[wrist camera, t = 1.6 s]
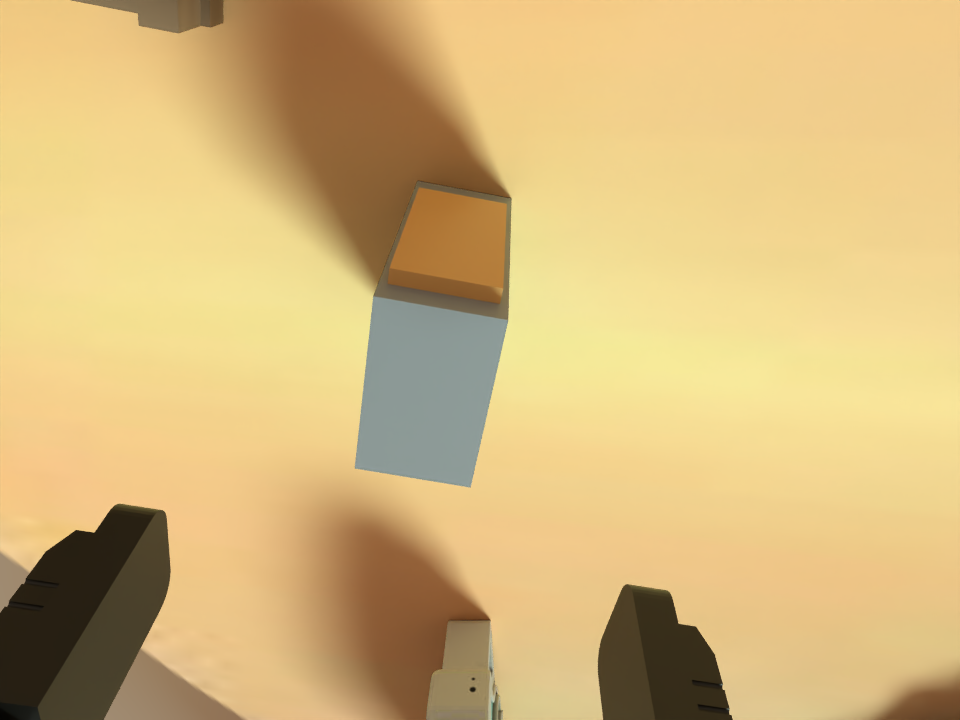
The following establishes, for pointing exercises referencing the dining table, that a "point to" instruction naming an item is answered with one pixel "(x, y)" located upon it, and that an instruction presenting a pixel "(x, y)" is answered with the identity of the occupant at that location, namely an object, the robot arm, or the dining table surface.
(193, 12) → the rail
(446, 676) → the grey rectangular slab
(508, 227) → the grey rectangular block
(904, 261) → the dining table surface
